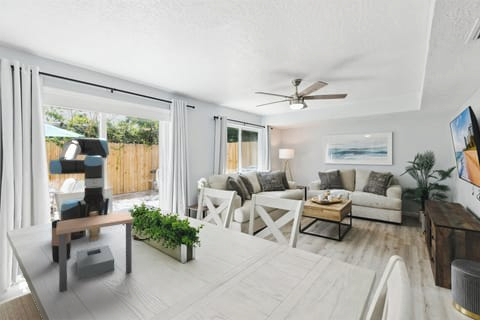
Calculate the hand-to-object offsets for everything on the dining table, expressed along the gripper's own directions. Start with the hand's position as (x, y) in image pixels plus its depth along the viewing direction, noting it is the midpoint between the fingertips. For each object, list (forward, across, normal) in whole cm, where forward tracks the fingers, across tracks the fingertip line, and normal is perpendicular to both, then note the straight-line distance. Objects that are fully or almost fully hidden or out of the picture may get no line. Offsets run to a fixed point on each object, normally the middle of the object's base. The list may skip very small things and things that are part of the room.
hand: (93, 233), depth 112 cm
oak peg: (+4, 0, 0) cm, 4 cm away
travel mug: (+15, -13, +13) cm, 24 cm away
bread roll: (+15, +29, +21) cm, 39 cm away
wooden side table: (+15, 0, -14) cm, 20 cm away
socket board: (+15, 0, -4) cm, 15 cm away
